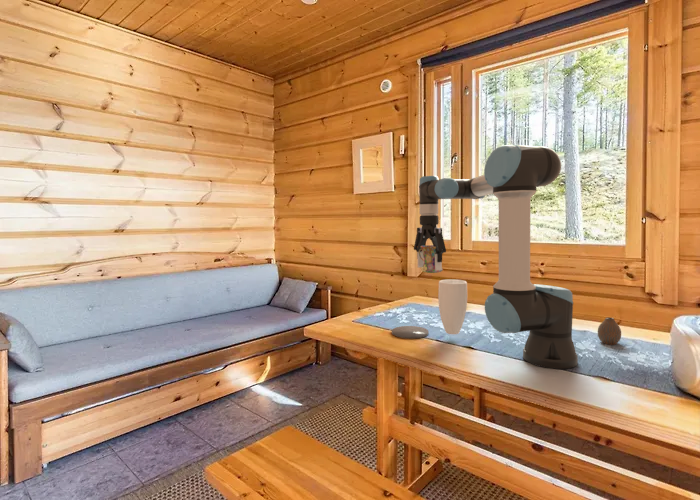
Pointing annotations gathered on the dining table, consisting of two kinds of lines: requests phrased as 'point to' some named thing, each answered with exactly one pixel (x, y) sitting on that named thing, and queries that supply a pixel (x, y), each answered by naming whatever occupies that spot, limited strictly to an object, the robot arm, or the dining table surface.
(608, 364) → the dining table surface
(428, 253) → the mug
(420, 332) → the disc
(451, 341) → the dining table surface
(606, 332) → the vase
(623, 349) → the dining table surface
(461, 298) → the cup
